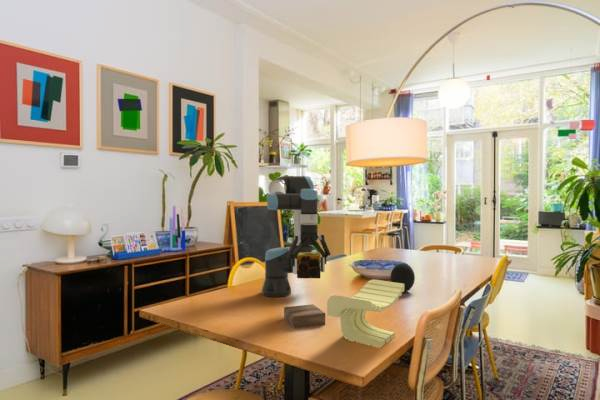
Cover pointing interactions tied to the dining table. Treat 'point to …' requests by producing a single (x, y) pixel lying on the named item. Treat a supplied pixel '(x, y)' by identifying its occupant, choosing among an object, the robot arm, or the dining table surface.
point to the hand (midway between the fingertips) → (308, 272)
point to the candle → (308, 265)
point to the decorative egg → (403, 275)
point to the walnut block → (304, 316)
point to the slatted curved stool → (353, 311)
